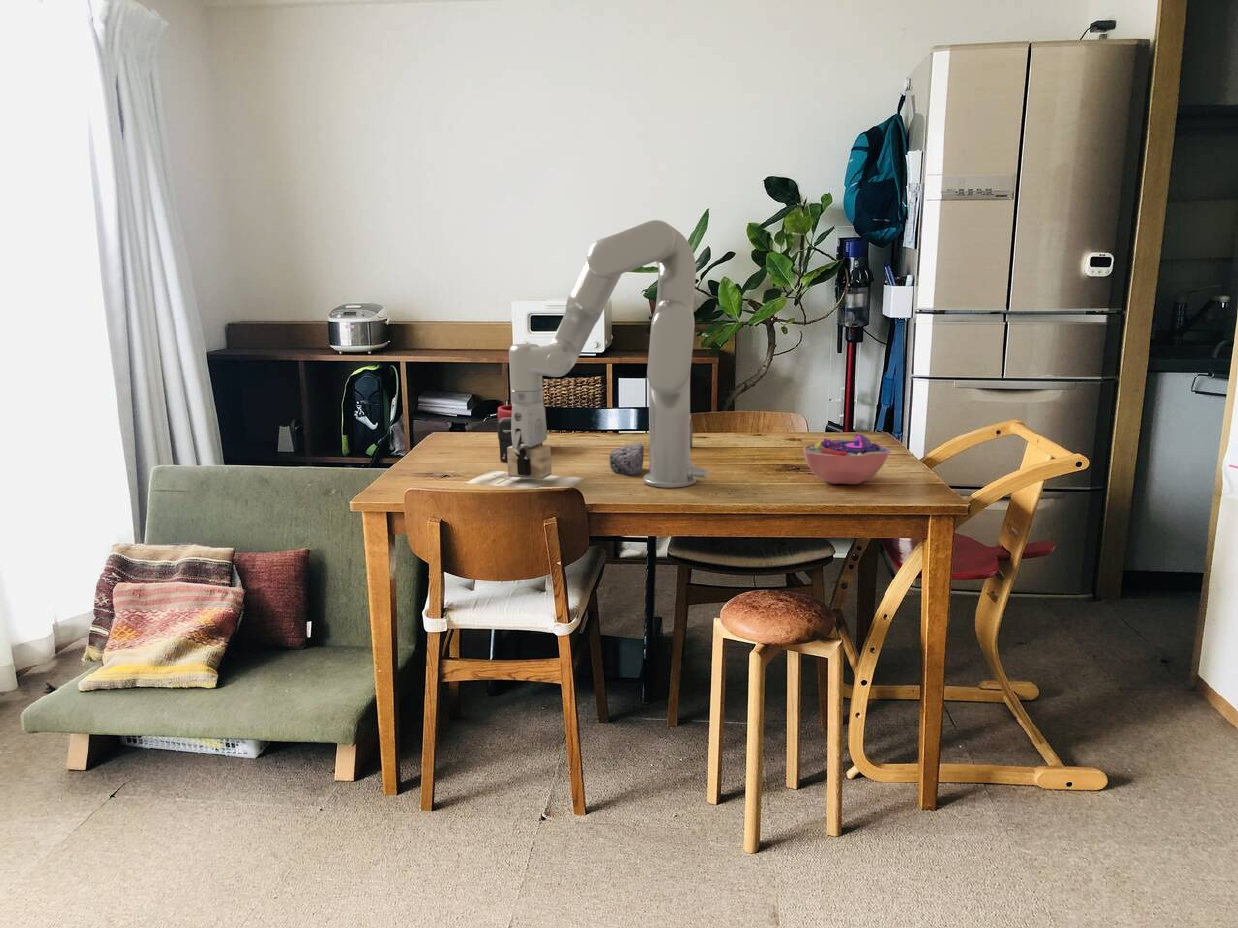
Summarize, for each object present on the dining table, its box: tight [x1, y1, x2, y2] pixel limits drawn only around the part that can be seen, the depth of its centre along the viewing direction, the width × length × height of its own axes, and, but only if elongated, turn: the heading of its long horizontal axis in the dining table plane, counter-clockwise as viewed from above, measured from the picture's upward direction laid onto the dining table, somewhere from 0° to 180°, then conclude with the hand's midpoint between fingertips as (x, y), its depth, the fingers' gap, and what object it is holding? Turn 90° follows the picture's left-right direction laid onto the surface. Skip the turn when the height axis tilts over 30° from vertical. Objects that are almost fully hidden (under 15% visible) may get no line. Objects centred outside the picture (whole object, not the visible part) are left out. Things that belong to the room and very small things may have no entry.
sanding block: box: [507, 444, 552, 479], centre depth 225 cm, size 9×5×7 cm, turn 69°
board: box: [464, 470, 587, 489], centre depth 226 cm, size 26×13×1 cm, turn 69°
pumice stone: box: [609, 443, 645, 477], centre depth 233 cm, size 10×8×10 cm
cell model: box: [802, 433, 892, 485], centre depth 219 cm, size 17×20×11 cm
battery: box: [497, 418, 524, 463], centre depth 246 cm, size 7×4×11 cm, turn 86°
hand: (529, 471), depth 225 cm, fingers closed on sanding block, 5 cm apart
